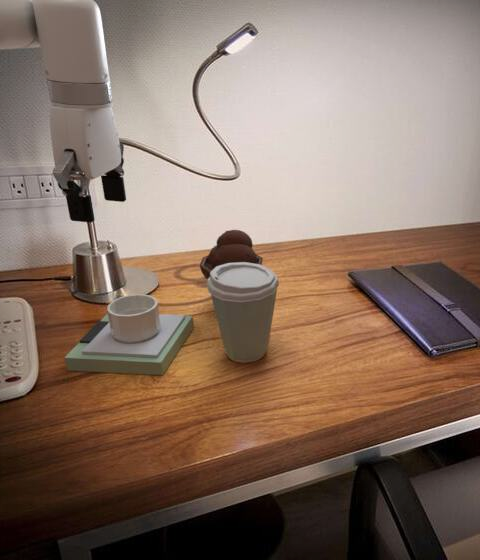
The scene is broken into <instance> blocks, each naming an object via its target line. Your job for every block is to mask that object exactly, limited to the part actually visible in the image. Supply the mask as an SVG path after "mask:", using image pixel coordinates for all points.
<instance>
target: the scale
mask: <svg viewBox="0 0 480 560" xmlns="http://www.w3.org/2000/svg"><path fill="white" fill-rule="evenodd" d="M159 316H160V322H161V329H160V330H159V331H158V333H157V334H156V335H155V336H154V337H152V338H150V339H148V340H145V341H141V342H135V343H126V342H121V341H119V340H117V339H116V338H114V336H113V335H112V333H111V328H110V322H109V318H108V313H106V314H105V315H104V316H103V317H102V318H101V319H100V320H98V321H97V322H96V323H95V324H94V325H93V326H92V327H91V328H90V329H89V330H88V331H87V332H86V333H85V334H84V336H82V337H81V339H79V341H78V343H77V344H76V345H75V346H74V347H73V348H72V349H71V350H70V351H69V352H68V353H67V354H66V356H64V362H65V366H66V371H69V372H85V373H86V372H87V373H88V372H89V373H104V374H105V373H107V374H128V375H129V374H131V375H148V376H164V374H165V373H166V371H167V370H168V368H169V367H170V365H171V364H172V362H173V361H174V359H175V358H176V356H177V354H178V353H179V351H180V350H181V348H182V347H183V345H184V344H185V342H186V341H187V339H188V337H189V336H190V334H191V333H192V331H193V329H195V325H194V316H193V315H189V314H188V315H187V314H169V313H159Z"/></svg>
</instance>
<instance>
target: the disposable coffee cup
mask: <svg viewBox="0 0 480 560" xmlns="http://www.w3.org/2000/svg"><path fill="white" fill-rule="evenodd" d="M279 286H280V283H279V278H278V276H277V274H276V273H275V272H274V271H273V270H272V269H271V268H268V267H266V266H265V265H263V264H262V265H260V264H254V263H247V262H237V263H227V264H223V265H220V266H216V267H215V268H214V269H213V270H212V271H211V272H210V277H209V278H208V280H207V279H206V287H207V288H206V289H207V291H208V294H210V296H211V300H212V304H213V309H214V313H215V316H216V320H217V324H218V328H219V332H220V335H221V340H222V344H223V348H224V350H225V351H224V352H225V354H226V356H227V357H228V359H230V360H232V361H233V362H235V363H241V364H248V363H253V362H257V361H259V360H260V359H262V358H263V357H264V356H265V354H266V352H267V350H268V349H269V343H270V339H271V338H270V336H271V331H272V324H273V318H274V311H275V306H276V299H277V292H278V287H279Z"/></svg>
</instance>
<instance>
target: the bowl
mask: <svg viewBox="0 0 480 560" xmlns="http://www.w3.org/2000/svg"><path fill="white" fill-rule="evenodd" d="M106 306H107V307H106V312H107V313H108V318H109V322H110V328H111V333H112V335H113V336H114V338H116V339H117V340H119V341H121V342H126V343H135V342H141V341H145V340H148V339H150V338H152V337H154V336H155V335H156V334H157V333H158V331H159V330H160V329H161V322H160V316H159V314H160V310H159V301H158V299H157V298H155V297H154V296H152V295H149V294H141V293H140V294H139V293H136V294H127V295H124V296H121V297H118V298H115V299H114V300H112V301H110V302H109V304H108V305H106ZM107 313H106V314H107Z"/></svg>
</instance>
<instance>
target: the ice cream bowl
mask: <svg viewBox="0 0 480 560" xmlns="http://www.w3.org/2000/svg"><path fill="white" fill-rule="evenodd" d="M253 245H254V243H253V240H252V238H251V236H250V235H249V234H248V233H246V232H245V231H242V230H240V229H231V230H225V231H224V232H223V233H221V235H220V236H218V238H217V239H216V245H214V246H213V247H212V248H211V249H210V251H209V254H208V255H205V256H203V257H202V258H201V261H200V263H199V268H200V271H201V273H202V275H203V277H204V278H205V279H206V281H207V280H208V278H209V277H210V272H211V271H212V270H213V269H214V268H215V267H216V266H220V265H223V264H227V263H237V262H247V263H254V264H260V265H262V266H263V260H264V258H263V257H262V256H260V255H259V254H258V253H256V252H255V251H254V249H253Z"/></svg>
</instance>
